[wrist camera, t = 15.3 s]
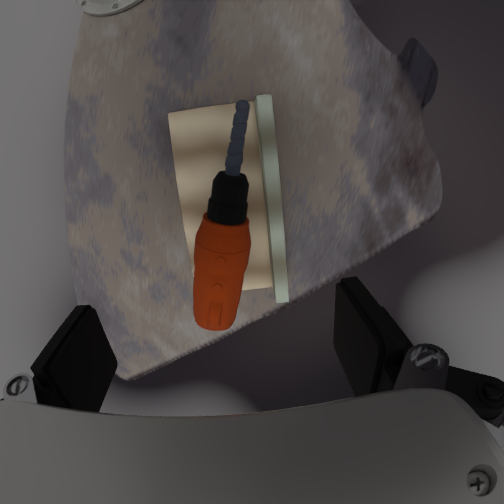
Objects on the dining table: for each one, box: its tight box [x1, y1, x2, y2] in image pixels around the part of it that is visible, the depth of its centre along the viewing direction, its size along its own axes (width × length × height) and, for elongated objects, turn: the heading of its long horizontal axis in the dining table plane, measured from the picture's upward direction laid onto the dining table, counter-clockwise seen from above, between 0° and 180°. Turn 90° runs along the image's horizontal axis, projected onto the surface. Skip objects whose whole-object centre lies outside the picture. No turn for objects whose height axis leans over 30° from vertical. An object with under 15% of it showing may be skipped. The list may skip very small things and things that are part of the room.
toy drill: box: [193, 100, 251, 331], centre depth 25 cm, size 5×19×15 cm, turn 171°
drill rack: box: [168, 94, 289, 303], centre depth 32 cm, size 22×11×6 cm, turn 6°
